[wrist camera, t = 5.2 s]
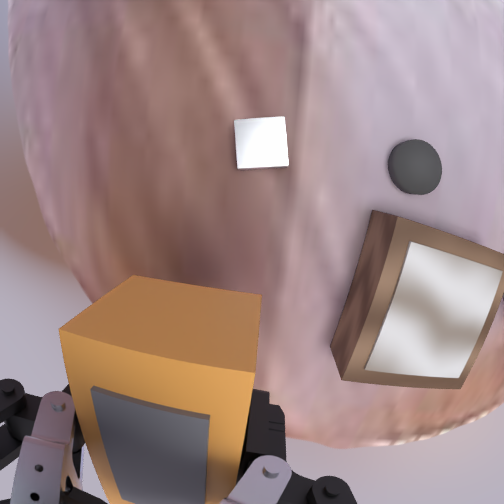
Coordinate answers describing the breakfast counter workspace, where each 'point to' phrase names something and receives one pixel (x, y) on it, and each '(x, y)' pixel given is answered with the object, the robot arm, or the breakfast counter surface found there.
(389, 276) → the brown square box
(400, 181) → the black rubber puck
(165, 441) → the block
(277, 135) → the grey metal block
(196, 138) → the breakfast counter surface
